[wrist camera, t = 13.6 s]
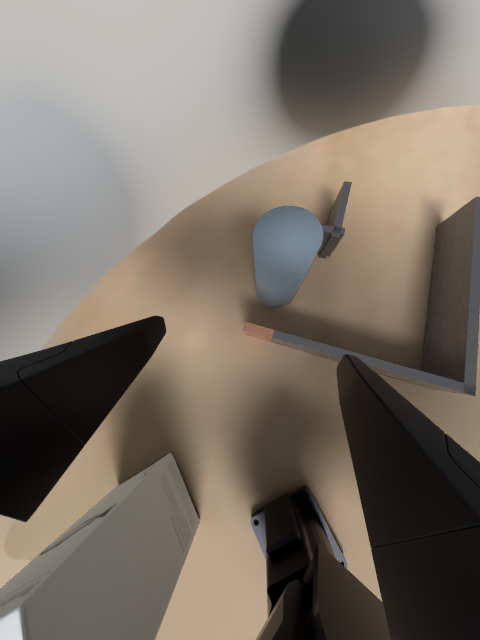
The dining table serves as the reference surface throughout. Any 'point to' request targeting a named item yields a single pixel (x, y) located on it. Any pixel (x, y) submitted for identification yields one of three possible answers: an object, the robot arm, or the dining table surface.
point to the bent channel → (443, 310)
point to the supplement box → (107, 566)
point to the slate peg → (284, 252)
